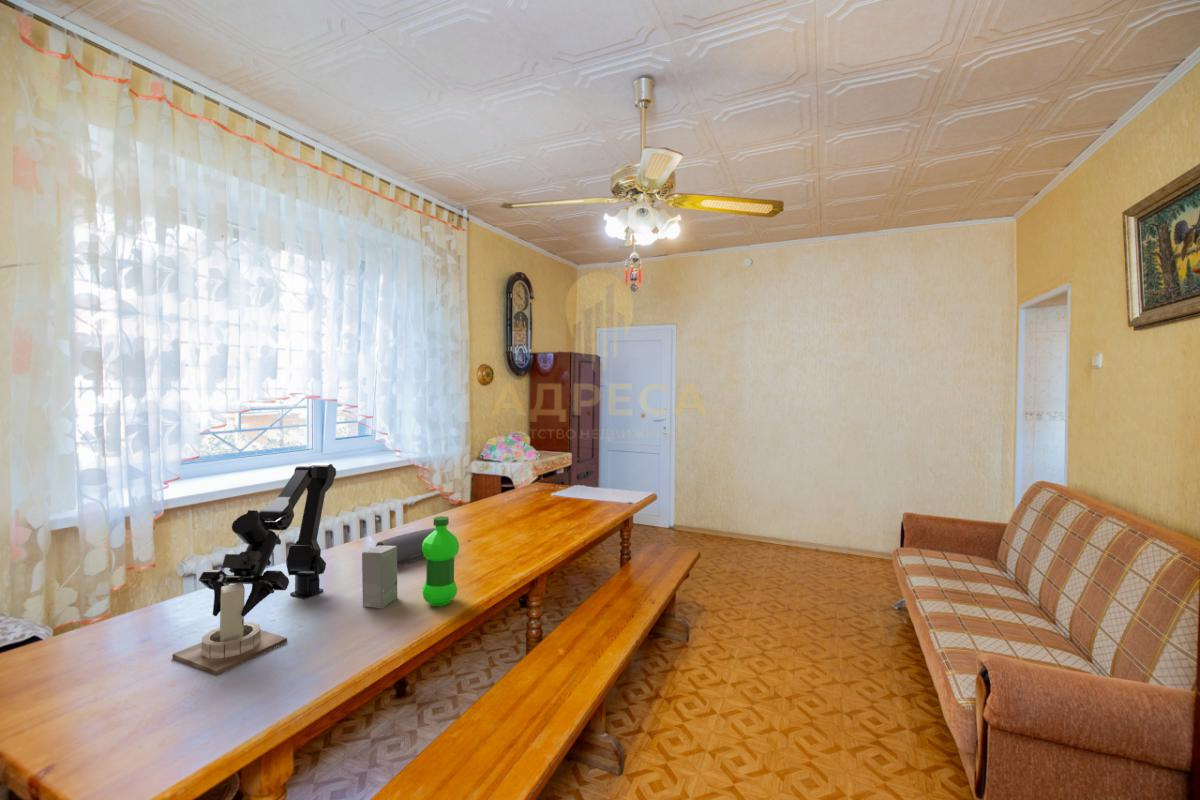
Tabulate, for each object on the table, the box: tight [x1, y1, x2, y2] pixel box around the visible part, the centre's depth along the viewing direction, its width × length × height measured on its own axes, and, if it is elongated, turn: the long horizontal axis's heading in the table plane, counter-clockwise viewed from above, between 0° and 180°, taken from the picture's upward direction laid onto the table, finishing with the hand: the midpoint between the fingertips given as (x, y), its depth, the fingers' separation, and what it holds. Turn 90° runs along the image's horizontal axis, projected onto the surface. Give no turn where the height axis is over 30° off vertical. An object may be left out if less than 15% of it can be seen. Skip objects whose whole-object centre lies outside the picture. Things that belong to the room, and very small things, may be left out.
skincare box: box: [361, 545, 398, 609], centre depth 149 cm, size 8×7×16 cm
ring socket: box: [172, 621, 288, 676], centre depth 121 cm, size 16×16×4 cm
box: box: [219, 583, 246, 642], centre depth 121 cm, size 5×4×13 cm
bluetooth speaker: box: [375, 527, 435, 566], centre depth 185 cm, size 23×9×10 cm, turn 144°
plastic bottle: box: [422, 516, 460, 607], centre depth 149 cm, size 10×10×25 cm
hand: (228, 615), depth 119 cm, fingers closed on box, 6 cm apart
